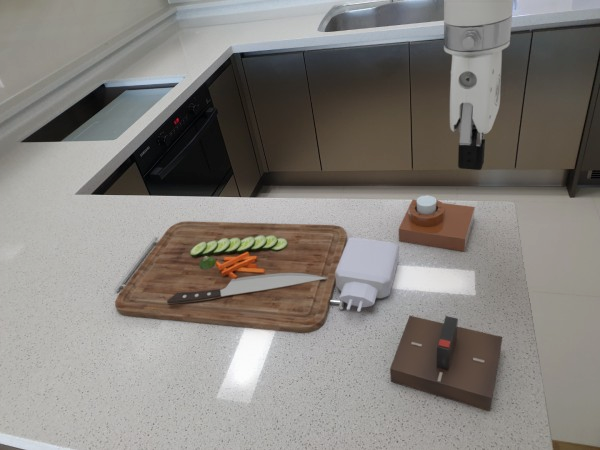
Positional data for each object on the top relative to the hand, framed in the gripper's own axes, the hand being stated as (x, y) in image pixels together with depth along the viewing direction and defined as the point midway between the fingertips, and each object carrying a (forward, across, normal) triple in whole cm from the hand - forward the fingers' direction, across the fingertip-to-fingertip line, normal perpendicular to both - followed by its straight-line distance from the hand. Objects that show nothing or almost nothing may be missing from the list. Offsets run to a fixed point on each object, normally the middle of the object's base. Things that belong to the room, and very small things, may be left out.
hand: (470, 166), depth 66 cm
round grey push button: (+16, +11, +9) cm, 22 cm away
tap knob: (+18, -19, -1) cm, 26 cm away
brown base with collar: (+21, +11, +8) cm, 25 cm away
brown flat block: (+21, -19, -1) cm, 29 cm away
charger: (+21, -8, +15) cm, 27 cm away
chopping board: (+21, -11, +40) cm, 47 cm away
